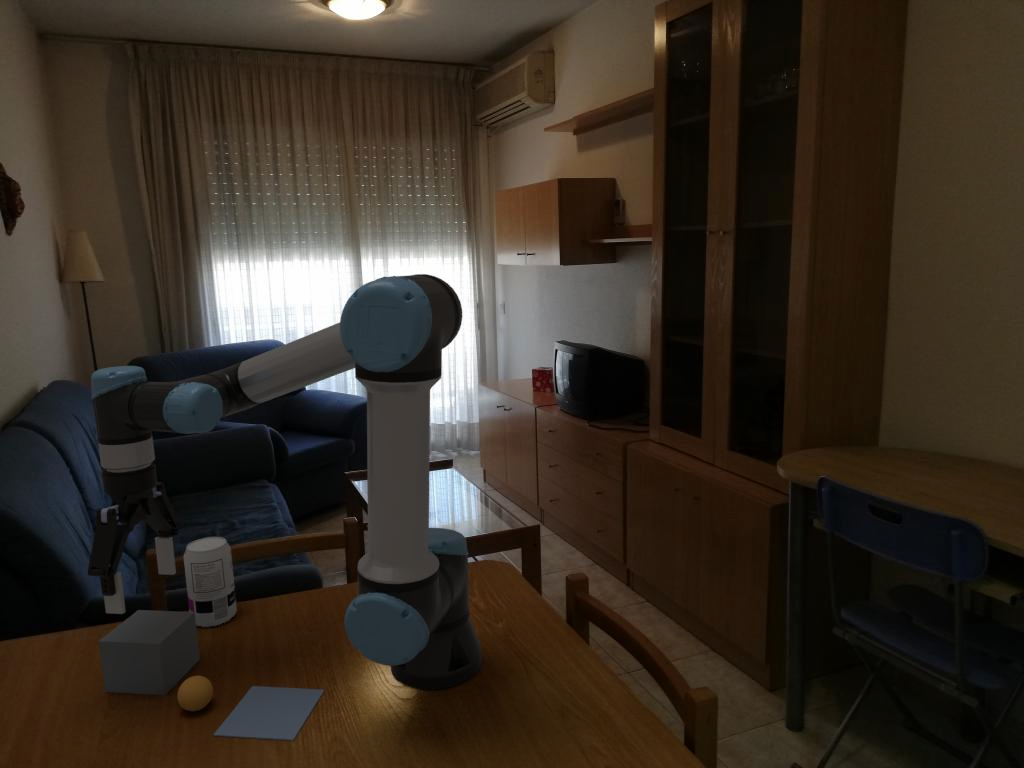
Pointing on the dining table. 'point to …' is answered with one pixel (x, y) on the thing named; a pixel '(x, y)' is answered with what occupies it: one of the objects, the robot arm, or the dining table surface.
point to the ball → (195, 693)
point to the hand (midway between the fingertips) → (143, 592)
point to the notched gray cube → (149, 652)
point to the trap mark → (270, 713)
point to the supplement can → (210, 581)
